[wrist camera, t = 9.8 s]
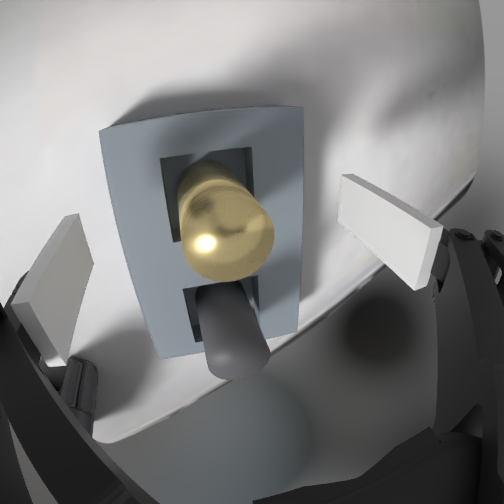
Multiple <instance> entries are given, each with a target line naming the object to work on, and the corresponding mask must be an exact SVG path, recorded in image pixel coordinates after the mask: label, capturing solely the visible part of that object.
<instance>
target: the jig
mask: <svg viewBox="0 0 504 504" xmlns="http://www.w3.org/2000/svg"><path fill="white" fill-rule="evenodd" d="M99 137H100V143H101V150H102V156H103V162H104V167H105V173H106V178H107V183H108V188H109V193H110V198H111V203H112V207H113V212H114V216H115V220H116V224H117V228H118V232H119V236H120V240H121V244H122V248H123V251H124V255H125V259H126V262H127V266H128V269H129V273H130V276H131V279H132V283H133V286H134V289H135V292H136V295H137V298H138V301H139V304H140V307H141V310H142V313H143V316H144V319H145V322H146V325H147V328H148V330H149V333H150V336H151V339H152V341H153V344H154V346H155V349H156V352H157V354H158V357H159V359H166V358H172V357H179V356H185V355H190V354H196V353H202V352H205V354H206V359H207V364H208V368H209V370H210V372H211V373H212V374H213V375H215V376H216V377H218V378H221V379H226V380H238V379H243V378H247V377H249V376H252V375H254V374H256V373H257V372H259V371H260V370H261V369H262V368H263V367H264V366H265V365H266V364H267V362H268V360H269V358H270V350H269V347H268V345H267V343H266V340H265V339H269V338H274V337H278V336H282V335H286V334H290V333H294V332H297V328H298V314H299V297H300V279H301V257H302V229H303V178H304V136H303V107H292V106H266V107H246V108H231V109H219V110H209V111H199V112H191V113H183V114H176V115H169V116H163V117H156V118H151V119H145V120H139V121H134V122H129V123H124V124H119V125H115V126H110V127H107V128H105V129H102V130H100V131H99ZM201 160H215V161H218V162H220V163H222V164H224V165H225V166H227V167H228V168H229V169H230V170H231V172H232V173H233V174H234V175H235V176H236V177H237V178H238V180H239V181H240V182H241V183H242V184H243V185H244V187H245V188H246V189H247V190H248V191H249V192H250V194H251V195H252V196H253V197H254V198H255V199H256V201H257V202H258V203H259V204H260V205H261V206H262V208H263V209H264V210H265V211H266V212H267V214H268V215H269V217H270V219H271V221H272V223H273V227H274V244H273V248H272V251H271V253H270V255H269V257H268V258H267V260H266V261H265V263H264V264H263V265H262V266H261V267H260V268H259V269H258V270H256V271H255V272H254V273H252V274H251V275H249V276H247V277H245V278H242V279H240V280H236V281H231V282H217V281H212V280H209V279H206V278H204V277H202V276H200V275H199V274H197V273H196V272H195V271H194V270H193V269H192V268H191V267H190V266H189V264H188V263H187V261H186V259H185V257H184V254H183V249H182V241H181V232H180V222H179V212H178V201H177V183H178V180H179V178H180V176H181V174H182V173H183V171H184V170H185V169H186V168H187V167H188V166H190V165H191V164H193V163H195V162H198V161H201Z"/></svg>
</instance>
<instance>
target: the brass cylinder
mask: <svg viewBox="0 0 504 504" xmlns="http://www.w3.org/2000/svg"><path fill="white" fill-rule="evenodd" d="M177 201H178V212H179V222H180V232H181V241H182V249H183V254H184V257H185V259H186V261H187V263H188V264H189V266H190V267H191V268H192V269H193V270H194V271H195V272H196V273H197V274H199V275H200V276H202V277H204V278H206V279H209V280H212V281H217V282H231V281H236V280H240V279H242V278H245V277H247V276H249V275H251V274H252V273H254V272H255V271H256V270H258V269H259V268H260V267H261V266H262V265H263V264H264V263H265V261H266V260H267V258H268V257H269V255H270V253H271V251H272V248H273V244H274V227H273V223H272V221H271V219H270V217H269V215H268V214H267V212H266V211H265V210H264V209H263V208H262V206H261V205H260V204H259V203H258V202H257V201H256V199H255V198H254V197H253V196H252V195H251V194H250V192H249V191H248V190H247V189H246V188H245V187H244V185H243V184H242V183H241V182H240V181H239V180H238V178H237V177H236V176H235V175H234V174H233V173H232V172H231V170H230V169H229V168H228V167H227V166H225V165H224V164H222V163H220V162H218V161H215V160H201V161H198V162H195V163H193V164H191V165H190V166H188V167H187V168H186V169H185V170H184V171H183V173H182V174H181V176H180V178H179V180H178V183H177Z"/></svg>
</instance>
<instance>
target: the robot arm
mask: <svg viewBox="0 0 504 504" xmlns="http://www.w3.org/2000/svg"><path fill="white" fill-rule="evenodd" d="M337 222H338V223H339V224H340V225H341V226H342V227H344V228H345V229H346V230H347V231H348V232H349V233H351V234H352V235H353V236H354V237H355V238H357V239H358V240H359V241H360V242H361V243H362V244H363V245H365V246H366V247H367V248H368V249H369V250H370V251H372V252H373V253H374V254H375V255H376V256H377V257H378V258H379V259H381V260H382V261H383V262H384V263H385V264H386V265H387V266H388V267H389V268H391V269H392V270H393V271H394V272H395V273H396V274H397V275H398V276H399V277H400V278H401V279H403V280H404V281H405V282H406V283H407V284H408V285H409V286H410V287H411V288H412V289H413V290H417V289H420V288H423V287H425V286H427V283H428V280H429V277H430V274H432V275H434V276H435V277H436V279H435V282H434V285H433V288H432V291H431V294H430V296H429V301H431V299H432V297H435V300H434V302H435V308H436V321H437V344H438V345H437V346H438V379H437V381H438V382H437V403H436V416H435V422H434V425H433V427H432V429H431V428H430V427H428V428H427V429H425V430H423V431H422V432H420V433H418V434H417V435H415V436H413V437H412V438H410V439H408V440H407V441H405V442H403V443H401V444H400V445H398V446H396V447H395V448H393V449H392V450H391V451H390V452H389V453H388V454H387V455H386V456H385V457H383V458H382V459H381V460H380V461H379V462H378V463H377V464H375V465H374V466H373V467H372V468H370V469H369V470H368V471H367V472H365V473H364V474H363V475H361V476H360V477H358V478H355V479H351V480H346V481H340V482H335V483H328V484H320V485H312V486H304V487H301V488H298V489H294V490H291V491H288V492H285V493H281V494H278V495H274V496H270V497H266V498H263V499H259V500H255V501H253V504H504V235H503V234H501V233H500V232H498V231H496V230H494V231H493V230H486V231H485V233H484V237H483V240H477V239H476V238H475V236H474V235H473V234H471V233H469V232H468V231H466V230H464V229H456V228H455V229H451V230H450V231H447V230H446V229H444V228H443V225H441V224H439V223H438V222H436V221H435V220H433V219H432V218H430V217H428V216H427V215H425V214H423V213H422V212H420V211H419V210H417V209H415V208H414V207H412V206H410V205H409V204H407V203H405V202H403V201H402V200H400V199H398V198H396V197H395V196H393V195H391V194H389V193H388V192H386V191H384V190H382V189H380V188H379V187H377V186H375V185H373V184H371V183H369V182H367V181H365V180H364V179H362V178H360V177H358V176H356V175H354V174H344V175H341V179H340V195H339V208H338V220H337ZM93 265H94V262H93V259H92V256H91V253H90V250H89V247H88V244H87V241H86V237H85V234H84V231H83V227H82V224H81V220H80V217H79V213H78V214H73V215H69V216H65V217H64V218H63V220H62V221H61V223H60V224H59V225H58V227H57V228H56V230H55V231H54V233H53V234H52V236H51V237H50V238H49V240H48V241H47V243H46V245H45V246H44V248H43V249H42V251H41V252H40V254H39V255H38V257H37V259H36V260H35V262H34V263H33V265H32V267H31V268H30V270H29V271H28V272H27V273H25V274H24V275H23V276H22V277H21V278H20V280H19V282H18V283H17V285H16V287H15V289H14V290H13V292H12V295H11V296H10V297H9V299H8V301H7V303H6V305H5V307H4V309H3V307H2V305H1V303H0V504H33V503H32V500H31V497H30V495H29V492H28V489H27V487H26V484H25V481H24V478H23V475H22V472H21V469H20V465H19V462H18V459H17V455H16V451H15V448H14V444H13V440H12V436H11V431H10V427H9V421H10V423H11V425H12V428H13V430H14V432H15V433H16V436H17V438H18V439H19V441H20V443H21V445H22V447H23V449H24V451H25V452H26V454H27V456H28V458H29V460H30V461H31V463H32V464H33V466H34V468H35V469H36V471H37V473H38V474H39V476H40V477H41V479H42V481H43V482H44V484H45V485H46V486H47V488H48V489H49V491H50V492H51V494H52V495H53V496H54V498H55V499H56V501H57V502H58V504H159V503H158V502H157V501H156V500H155V499H153V498H152V497H151V496H150V495H149V494H148V493H146V492H145V491H144V490H143V489H142V488H141V487H140V486H138V484H137V483H135V482H134V481H133V480H132V479H131V478H130V477H129V476H128V475H127V474H126V473H125V472H124V471H123V470H122V469H121V468H120V467H119V466H118V465H117V464H116V463H115V462H114V461H113V460H112V459H111V458H110V457H109V456H108V455H107V453H106V452H105V451H104V450H103V449H102V448H101V447H100V446H99V445H98V444H97V443H96V441H95V440H94V439H93V438H92V437H91V435H90V434H89V433H88V432H87V431H86V429H85V428H84V427H83V426H82V425H81V423H80V422H79V421H78V420H77V418H76V417H75V416H74V414H73V413H72V412H71V411H70V409H69V408H68V407H67V405H66V404H65V402H64V401H63V400H62V398H61V397H60V395H59V394H58V393H57V391H56V390H55V388H54V387H53V385H52V384H51V382H50V381H49V379H48V378H47V376H46V375H45V373H44V372H43V370H42V369H41V367H40V366H39V360H40V356H42V358H43V359H44V361H45V362H46V364H47V365H48V367H55V366H66V365H67V360H68V355H69V350H70V346H71V342H72V337H73V333H74V329H75V325H76V321H77V318H78V314H79V310H80V307H81V303H82V300H83V296H84V293H85V290H86V286H87V283H88V280H89V277H90V274H91V271H92V268H93ZM500 268H501V270H502V276H501V278H500V281H499V283H498V284H496V283H495V279H496V276H497V274H498V271H499V269H500ZM8 419H9V421H8Z"/></svg>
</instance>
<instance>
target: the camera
mask: <svg viewBox="0 0 504 504" xmlns="http://www.w3.org/2000/svg"><path fill="white" fill-rule="evenodd" d="M97 382H98V375H97V369H96V367H95V366H94V365H93V364H92V363H90V362H89V361H87V360H83V359H80V358H77V357H70V358H69V359H68V365H67V369H66V373H65V376H64V379H63V383H62V387H61V389H60V390H59V391H58V392H57V393H58V394H59V395H60V397H61V398H62V400H63V401H64V402H65V404H66V405H67V407H68V408H69V409H70V411H71V412H72V413H73V414H74V416H75V417H76V418H77V420H78V421H79V422H80V423H81V425H82V426H83V427H84V428H85V429H86V431H87V432H88V433H89V434H90V435H91V437H92V434H93V423H94V413H95V403H96V393H97ZM8 421H9V419H8ZM9 425H11V423H10V421H9ZM11 426H12V425H11ZM12 429H13V428H12Z"/></svg>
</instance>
